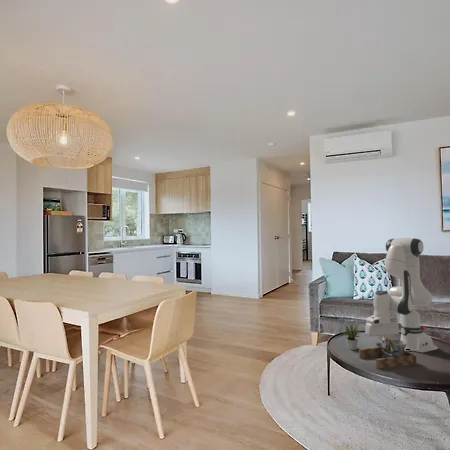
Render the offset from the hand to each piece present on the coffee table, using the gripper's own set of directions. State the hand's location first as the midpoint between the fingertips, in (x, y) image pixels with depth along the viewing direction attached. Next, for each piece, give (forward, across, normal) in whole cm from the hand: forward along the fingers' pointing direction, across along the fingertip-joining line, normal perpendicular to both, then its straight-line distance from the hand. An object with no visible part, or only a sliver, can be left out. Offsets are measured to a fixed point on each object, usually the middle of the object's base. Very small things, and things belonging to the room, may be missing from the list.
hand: (382, 342), depth 195 cm
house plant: (+11, +4, -23) cm, 26 cm away
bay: (+11, -2, 0) cm, 11 cm away
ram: (+10, -3, 0) cm, 11 cm away
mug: (+11, -9, 0) cm, 14 cm away
